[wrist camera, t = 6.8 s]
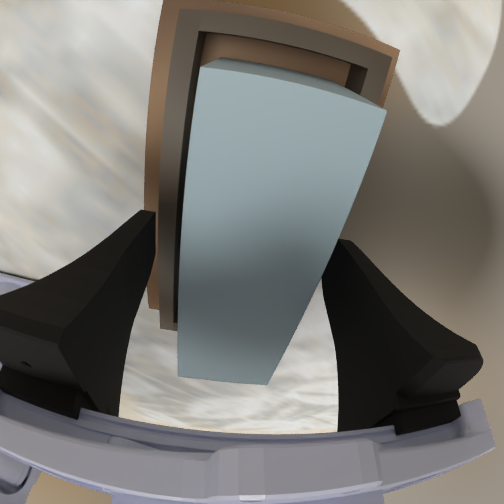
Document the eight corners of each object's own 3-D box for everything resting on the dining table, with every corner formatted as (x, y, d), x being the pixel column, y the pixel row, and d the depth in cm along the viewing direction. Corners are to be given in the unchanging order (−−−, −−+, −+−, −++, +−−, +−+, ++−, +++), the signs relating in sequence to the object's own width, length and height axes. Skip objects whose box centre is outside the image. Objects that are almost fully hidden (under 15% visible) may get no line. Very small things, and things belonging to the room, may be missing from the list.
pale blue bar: (262, 297, 19) (267, 384, 14) (191, 288, 18) (177, 376, 14) (327, 78, 11) (386, 110, 6) (221, 57, 10) (200, 66, 6)
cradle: (293, 319, 21) (297, 349, 19) (150, 301, 20) (142, 331, 18) (394, 49, 10) (422, 54, 8) (167, -1, 9) (149, -9, 7)
